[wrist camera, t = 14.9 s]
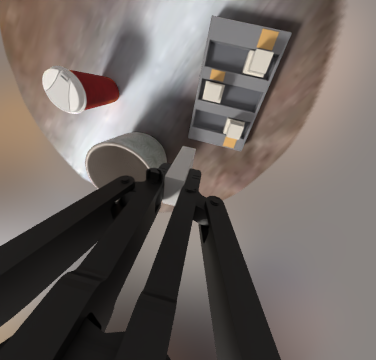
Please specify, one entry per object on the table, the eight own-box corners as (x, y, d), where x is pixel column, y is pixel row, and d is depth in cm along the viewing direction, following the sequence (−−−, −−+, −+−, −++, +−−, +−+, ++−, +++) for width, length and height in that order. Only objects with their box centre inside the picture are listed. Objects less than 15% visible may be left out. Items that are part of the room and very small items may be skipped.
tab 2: (227, 117, 35) (228, 121, 30) (243, 121, 35) (247, 126, 30) (222, 131, 37) (223, 137, 32) (238, 134, 37) (241, 141, 32)
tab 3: (248, 52, 28) (254, 45, 24) (268, 56, 28) (278, 51, 24) (241, 73, 30) (245, 71, 26) (260, 77, 30) (268, 76, 26)
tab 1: (206, 81, 32) (204, 80, 27) (224, 85, 32) (225, 85, 27) (203, 98, 34) (200, 100, 29) (219, 102, 34) (220, 105, 29)
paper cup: (101, 63, 35) (43, 52, 23) (128, 89, 37) (86, 90, 25) (90, 91, 39) (36, 93, 27) (115, 113, 41) (74, 124, 29)
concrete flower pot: (142, 111, 39) (105, 123, 27) (184, 157, 44) (171, 185, 32) (112, 149, 47) (73, 172, 35) (151, 184, 52) (129, 215, 40)
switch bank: (212, 22, 28) (211, 15, 25) (284, 37, 27) (292, 32, 25) (189, 134, 40) (187, 138, 38) (239, 147, 40) (241, 151, 37)
